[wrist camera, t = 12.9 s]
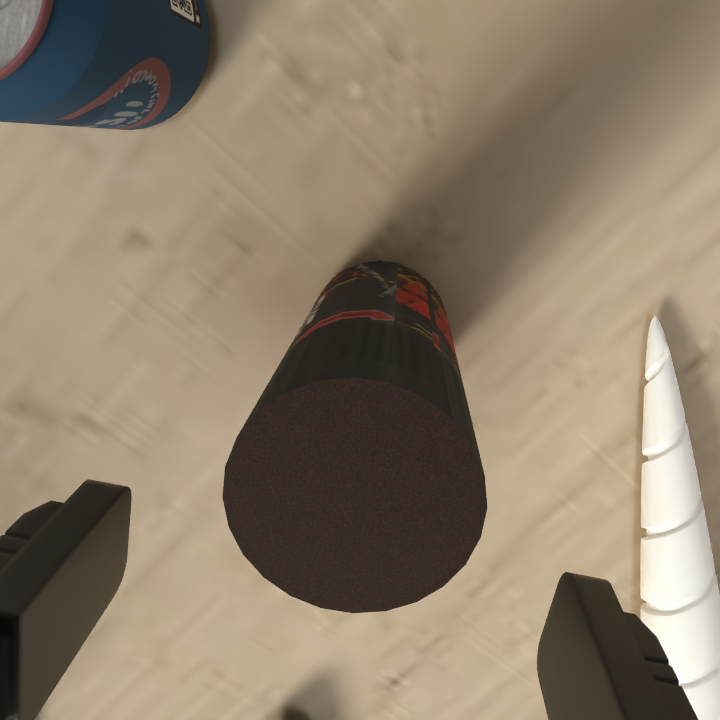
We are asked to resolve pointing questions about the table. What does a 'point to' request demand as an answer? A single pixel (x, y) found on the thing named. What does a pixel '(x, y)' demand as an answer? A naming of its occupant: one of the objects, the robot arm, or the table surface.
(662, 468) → the unicorn horn
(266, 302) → the table surface
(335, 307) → the deodorant
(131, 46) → the soda can
